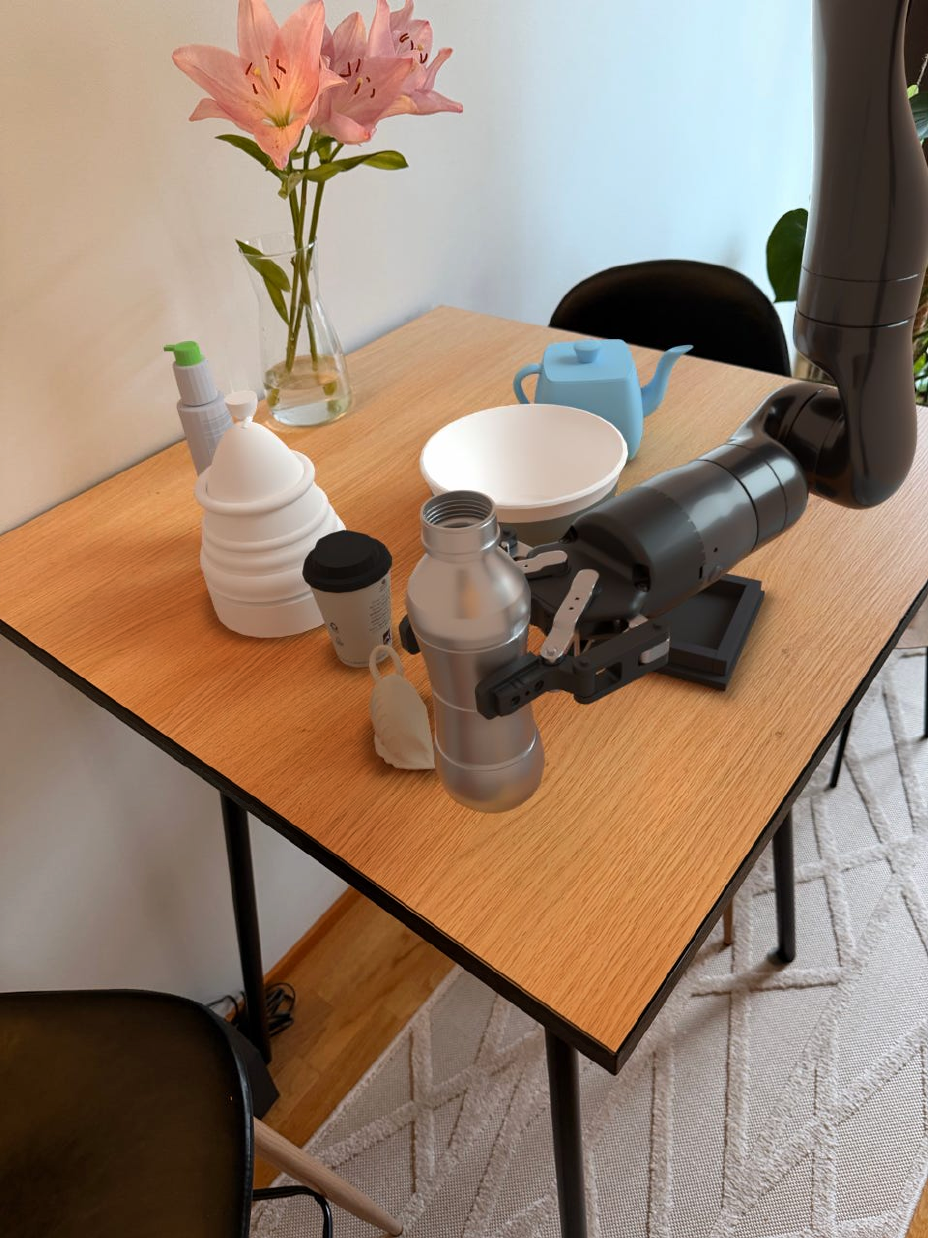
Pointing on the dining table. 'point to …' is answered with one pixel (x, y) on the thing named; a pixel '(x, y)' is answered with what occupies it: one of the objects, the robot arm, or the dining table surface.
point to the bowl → (529, 465)
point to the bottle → (199, 403)
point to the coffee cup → (352, 593)
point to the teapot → (600, 383)
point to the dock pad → (710, 631)
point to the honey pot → (260, 528)
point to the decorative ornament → (399, 718)
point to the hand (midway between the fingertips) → (441, 670)
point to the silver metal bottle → (473, 651)
